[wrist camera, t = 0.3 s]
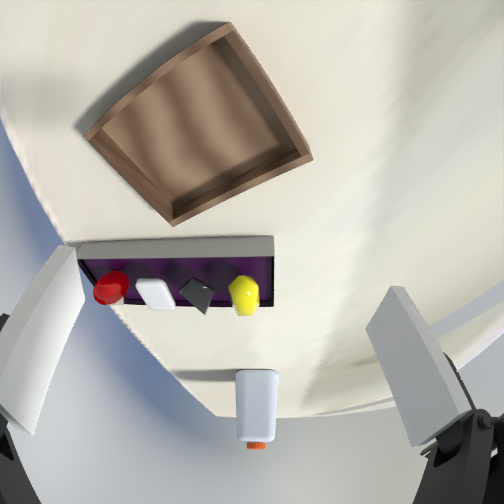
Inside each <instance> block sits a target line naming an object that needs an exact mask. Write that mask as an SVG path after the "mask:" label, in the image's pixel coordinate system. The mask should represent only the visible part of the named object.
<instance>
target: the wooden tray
mask: <svg viewBox="0 0 504 504" xmlns="http://www.w3.org/2000/svg"><path fill="white" fill-rule="evenodd" d="M84 137H85V138H86V140H87V141H88V142H89V143H90V144H91V145H92V146H93V147H94V148H95V149H96V150H97V151H98V152H99V153H100V154H101V155H102V156H103V157H104V158H105V159H106V161H107V162H108V163H109V164H110V165H111V166H112V167H113V168H114V169H115V170H116V171H117V172H118V173H119V174H120V175H121V176H122V177H123V178H124V179H125V180H126V181H127V182H128V183H129V184H130V185H131V186H132V187H133V188H134V189H135V190H136V191H137V192H138V193H139V194H140V195H141V196H142V197H143V198H144V199H145V200H146V201H147V202H148V203H149V204H150V205H151V206H152V207H153V208H154V209H155V210H156V211H157V212H158V213H159V214H160V215H161V216H162V217H163V218H164V219H165V220H166V221H167V222H168V223H169V224H170V225H171V226H172V227H174V226H176V225H178V224H180V223H182V222H184V221H186V220H188V219H190V218H191V217H193V216H195V215H197V214H199V213H201V212H203V211H205V210H207V209H209V208H211V207H213V206H215V205H217V204H219V203H221V202H223V201H225V200H227V199H230V198H232V197H234V196H236V195H238V194H240V193H242V192H244V191H246V190H248V189H250V188H253V187H255V186H257V185H259V184H261V183H263V182H265V181H268V180H270V179H272V178H274V177H276V176H279V175H281V174H283V173H285V172H287V171H290V170H292V169H294V168H297V167H299V166H301V165H303V164H306V163H308V162H310V161H313V157H312V154H311V151H310V148H309V145H308V144H307V142H306V140H305V138H304V136H303V134H302V133H301V131H300V129H299V127H298V126H297V124H296V122H295V120H294V119H293V117H292V115H291V113H290V112H289V110H288V108H287V107H286V105H285V103H284V102H283V100H282V98H281V97H280V95H279V93H278V92H277V90H276V88H275V87H274V85H273V84H272V82H271V80H270V79H269V77H268V76H267V74H266V73H265V71H264V70H263V68H262V66H261V65H260V63H259V62H258V60H257V59H256V57H255V56H254V55H253V53H252V52H251V50H250V49H249V47H248V46H247V44H246V43H245V41H244V40H243V39H242V37H241V36H240V34H239V33H238V32H237V30H236V29H235V28H234V26H233V25H232V23H231V22H229V23H226V24H225V25H223V26H221V27H219V28H218V29H216V30H214V31H212V32H211V33H209V34H208V35H206V36H204V37H203V38H201V39H200V40H198V41H196V42H195V43H193V44H192V45H190V46H189V47H187V48H186V49H184V50H183V51H181V52H180V53H178V54H177V55H176V56H174V57H173V58H171V59H170V60H169V61H167V62H166V63H165V64H163V65H162V66H161V67H159V68H158V69H157V70H155V71H154V72H153V73H151V74H150V75H149V76H148V77H146V78H145V79H144V80H143V81H141V82H140V83H139V84H138V85H137V86H135V87H134V88H133V89H132V90H131V91H130V92H128V93H127V94H126V95H125V96H124V97H123V98H122V99H120V100H119V101H118V102H117V103H116V104H115V105H114V106H113V107H112V108H111V109H110V110H108V111H107V112H106V113H105V114H104V115H103V116H102V117H101V118H100V119H99V120H98V121H97V122H96V123H95V124H94V125H93V126H92V127H91V128H90V129H89V130H88V131H87V132H86V133H85V135H84Z"/></svg>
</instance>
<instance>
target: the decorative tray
mask: <svg viewBox="0 0 504 504" xmlns="http://www.w3.org/2000/svg"><path fill="white" fill-rule="evenodd" d="M271 256H274V236H237V237H200V238H169V239H141V240H116V241H94V242H83V243H82V245H81V247H80V249H79V251H78V253H77V255H76V257H77V263H78V265H79V266H80V268H81V269H82V271H83V272H84V274H85V275H86V276H87V278H88V279H89V281H90V282H91V283H92V285H93V286H94V291H93V294H94V298H95V300H96V301H97V302H98V303H100V304H102V305H123V304H132V305H147V306H148V307H149V308H150V309H151V310H156V311H174V310H175V306H186V307H196V308H197V309H198V310H199V311H201V312H202V313H203V314H204V315H206V312H207V310H208V307H233V308H234V309H235V311H236V313H237V314H238V316H252V315H253V314H254V312H255V311H256V310H257V308H258V307H274V263H273V288H271ZM274 258H275V256H274Z"/></svg>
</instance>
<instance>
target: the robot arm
mask: <svg viewBox="0 0 504 504" xmlns="http://www.w3.org/2000/svg"><path fill="white" fill-rule="evenodd" d="M84 301H85V297H84V293H83V288H82V284H81V279H80V273H79V268H78V263H77V257H76V250H75V247H70V246H63V245H59V246H58V247H57V248H56V250H55V251H54V252H53V254H52V255H51V256H50V257H49V259H48V260H47V262H46V263H45V264H44V266H43V267H42V268H41V270H40V271H39V272H38V274H37V275H36V277H35V278H34V279H33V281H32V282H31V284H30V285H29V287H28V288H27V290H26V291H25V293H24V294H23V296H22V297H21V299H20V301H19V302H18V304H17V305H16V307H15V308H14V310H13V311H12V313H11V315H7V314H4V313H3V314H2V315H1V316H0V504H41V502H40V500H39V499H38V497H37V495H36V493H35V491H34V489H33V487H32V485H31V483H30V481H29V479H28V477H27V475H26V473H25V470H24V468H23V466H22V463H21V462H20V459H19V456H18V454H17V451H16V449H15V446H14V443H13V441H12V438H11V435H10V432H9V431H8V429H7V427H6V426H7V423H8V422H10V423H11V424H12V425H13V426H14V427H15V428H16V429H18V430H20V431H23V432H25V433H27V434H29V435H32V436H34V432H35V429H36V425H37V422H38V418H39V415H40V412H41V408H42V405H43V402H44V399H45V396H46V393H47V390H48V387H49V384H50V382H51V379H52V376H53V373H54V371H55V368H56V365H57V363H58V360H59V358H60V355H61V353H62V350H63V348H64V346H65V343H66V341H67V339H68V336H69V334H70V331H71V329H72V327H73V325H74V323H75V320H76V318H77V316H78V314H79V312H80V310H81V308H82V306H83V304H84ZM365 329H366V331H367V334H368V336H369V338H370V340H371V343H372V345H373V347H374V350H375V352H376V354H377V357H378V359H379V362H380V364H381V366H382V369H383V371H384V374H385V376H386V379H387V381H388V384H389V386H390V389H391V391H392V394H393V397H394V399H395V402H396V404H397V407H398V410H399V413H400V415H401V418H402V421H403V424H404V426H405V429H406V432H407V435H408V438H409V441H410V444H411V447H412V449H413V448H415V447H419V446H421V445H424V444H426V443H428V442H429V441H431V440H432V439H434V438H436V440H437V441H436V442H434V443H433V444H431V445H430V446H428V447H427V448H425V449H424V450H423V451H422V452H421V454H420V455H424V454H425V453H427V452H429V451H430V450H431V451H430V452H429V453H428V454H427V455H426V456H425V457H426V458H428V462H427V465H426V468H425V471H424V474H423V477H422V480H421V483H420V486H419V488H418V491H417V494H416V496H415V499H414V501H413V504H504V413H503V414H502V415H501V416H500V417H491V416H490V414H489V413H488V412H487V411H486V410H484V409H478V410H477V409H476V407H475V406H474V404H473V401H472V400H471V397H470V395H469V393H468V391H467V389H466V387H465V385H464V383H463V381H462V380H461V379H460V378H461V377H460V375H459V373H458V372H456V371H457V370H456V368H455V366H454V364H453V362H452V360H451V359H450V358H449V357H448V356H447V355H446V354H445V353H444V352H443V351H442V349H441V348H440V346H439V344H438V342H437V341H436V339H435V337H434V336H433V334H432V332H431V330H430V329H429V327H428V325H427V324H426V322H425V320H424V319H423V317H422V315H421V314H420V312H419V311H418V309H417V308H416V306H415V304H414V303H413V301H412V300H411V298H410V297H409V295H408V294H407V292H406V290H405V289H404V287H398V286H390V288H389V290H388V292H387V293H386V295H385V297H384V299H383V300H382V302H381V304H380V306H379V307H378V309H377V311H376V312H375V314H374V316H373V317H372V319H371V320H370V322H369V324H368V325H367V327H366V328H365ZM496 448H497V451H498V454H496V455H494V456H493V457H491V452H492V451H493V450H495V449H496Z"/></svg>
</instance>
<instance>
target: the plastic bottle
mask: <svg viewBox="0 0 504 504" xmlns="http://www.w3.org/2000/svg"><path fill="white" fill-rule="evenodd" d="M278 381H279V374H278V373H277V372H276V371H274V370H240V371H238V372H237V373H236V374H235V385H236V415H237V437H238V439H239V440H240V441H243V442H248V443H247V448H248V449H264V448H265V443H264V442H270V441H273V439H274V438H275V426H276V412H277V397H278Z"/></svg>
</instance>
